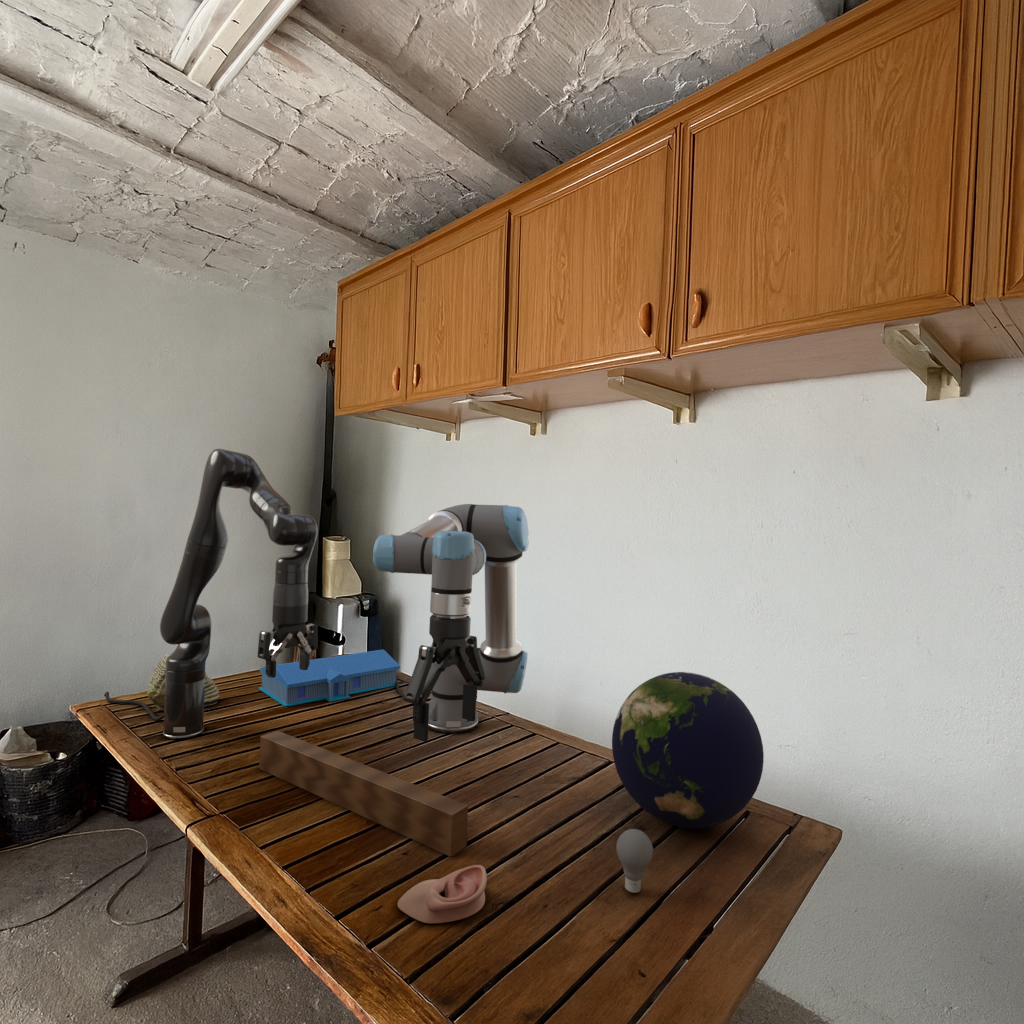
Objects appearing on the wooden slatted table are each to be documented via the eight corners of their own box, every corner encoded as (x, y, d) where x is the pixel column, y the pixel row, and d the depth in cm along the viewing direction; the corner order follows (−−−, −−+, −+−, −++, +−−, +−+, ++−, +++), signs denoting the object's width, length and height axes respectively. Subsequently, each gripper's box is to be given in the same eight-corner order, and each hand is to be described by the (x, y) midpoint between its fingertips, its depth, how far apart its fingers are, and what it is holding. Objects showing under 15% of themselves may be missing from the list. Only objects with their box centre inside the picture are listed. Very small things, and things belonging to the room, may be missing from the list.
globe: (592, 836, 122) (599, 682, 122) (625, 776, 150) (631, 650, 149) (758, 877, 111) (767, 707, 110) (760, 804, 139) (767, 668, 138)
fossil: (144, 707, 182) (145, 655, 182) (212, 696, 194) (213, 647, 194) (151, 716, 175) (153, 662, 175) (221, 703, 188) (223, 653, 188)
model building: (289, 709, 186) (291, 675, 185) (258, 688, 204) (259, 657, 204) (403, 687, 212) (405, 657, 212) (366, 670, 230) (368, 643, 230)
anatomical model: (390, 891, 96) (416, 850, 108) (389, 917, 96) (415, 874, 108) (474, 906, 94) (492, 863, 105) (473, 932, 94) (491, 887, 105)
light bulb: (610, 879, 108) (613, 822, 108) (644, 879, 109) (647, 822, 109) (619, 902, 102) (622, 840, 102) (655, 901, 103) (658, 840, 103)
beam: (259, 768, 146) (260, 736, 146) (276, 762, 150) (277, 730, 150) (450, 857, 113) (452, 815, 113) (466, 846, 117) (468, 805, 117)
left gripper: (273, 608, 136) (270, 683, 136) (326, 600, 147) (324, 670, 148) (252, 603, 140) (249, 676, 140) (306, 597, 152) (303, 664, 152)
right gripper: (419, 627, 104) (413, 754, 105) (505, 609, 125) (501, 716, 125) (386, 620, 109) (381, 743, 109) (475, 604, 129) (471, 707, 130)
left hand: (287, 673), depth 144 cm, fingers open, 8 cm apart
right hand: (445, 729), depth 117 cm, fingers open, 13 cm apart
